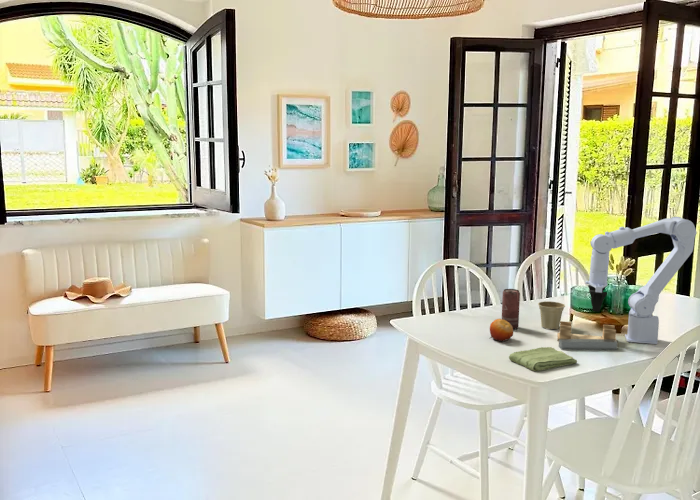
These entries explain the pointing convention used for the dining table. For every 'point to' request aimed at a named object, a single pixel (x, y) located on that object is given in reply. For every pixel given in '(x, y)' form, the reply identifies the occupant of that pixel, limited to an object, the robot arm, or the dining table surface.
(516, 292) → the can
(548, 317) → the flower pot
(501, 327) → the fruit
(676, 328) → the dining table surface
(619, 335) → the dining table surface
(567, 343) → the rail
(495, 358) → the dining table surface
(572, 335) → the tan piece
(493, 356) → the dining table surface
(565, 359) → the washcloth
